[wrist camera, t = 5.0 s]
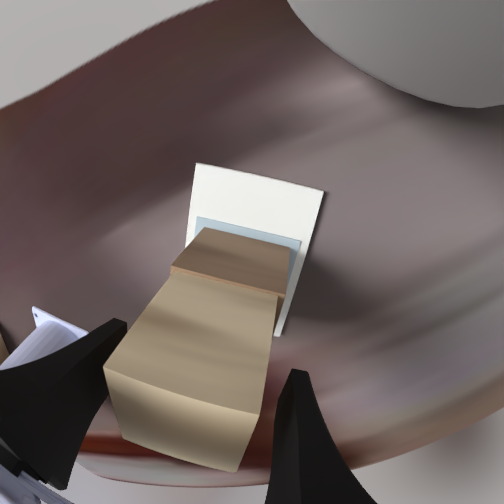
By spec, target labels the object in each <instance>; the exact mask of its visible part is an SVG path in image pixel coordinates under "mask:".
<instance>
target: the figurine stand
mask: <svg viewBox="0 0 504 504" xmlns="http://www.w3.org/2000/svg"><path fill="white" fill-rule="evenodd" d="M9 356H10V355H9V353H8V350H7V348H6V346H5V343H4V341H3V338H2V336H1V333H0V365H1V364H2V363H3V362H4V361H5V360H6V359H7V358H8V357H9Z"/></svg>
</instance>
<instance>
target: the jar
mask: <svg viewBox="0 0 504 504" xmlns="http://www.w3.org/2000/svg"><path fill="white" fill-rule="evenodd" d="M287 1H288V3H289V4H290V6H291V8H292V9H293V11H294V12H295V14H296V15H297V16H298V18H299V19H300V20H301V21H302V22H303V23H304V24H305V25H306V27H307V28H308V29H309V30H310V31H311V32H312V34H313V35H314V36H316V37H317V38H318V39H319V40H320V41H322V42H323V43H324V44H325V45H326V46H328V47H329V48H330V49H331V50H332V51H333V52H335V53H336V54H337V55H338V56H340V57H342V58H343V59H345V60H346V61H348V62H349V63H351V64H352V65H354V66H355V67H357V68H358V69H360V70H361V71H363V72H364V73H366V74H368V75H370V76H372V77H374V78H376V79H378V80H380V81H382V82H384V83H386V84H388V85H390V86H392V87H393V88H395V89H398V90H401V91H404V92H406V93H409V94H412V95H414V96H417V97H420V98H422V99H425V100H428V101H433V102H437V103H442V104H446V105H450V106H454V107H471V108H485V107H491V106H497V105H503V104H504V0H287Z"/></svg>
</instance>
